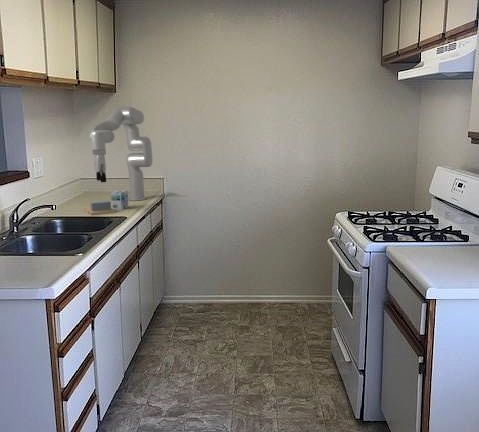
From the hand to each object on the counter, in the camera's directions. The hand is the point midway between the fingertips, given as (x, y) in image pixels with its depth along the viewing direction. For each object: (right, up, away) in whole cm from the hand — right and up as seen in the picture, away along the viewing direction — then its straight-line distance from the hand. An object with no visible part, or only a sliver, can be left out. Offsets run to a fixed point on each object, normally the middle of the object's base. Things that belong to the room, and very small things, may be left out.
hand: (101, 181), depth 331 cm
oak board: (-3, -18, +7) cm, 19 cm away
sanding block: (-1, -17, +1) cm, 17 cm away
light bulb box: (+8, -16, +15) cm, 23 cm away
